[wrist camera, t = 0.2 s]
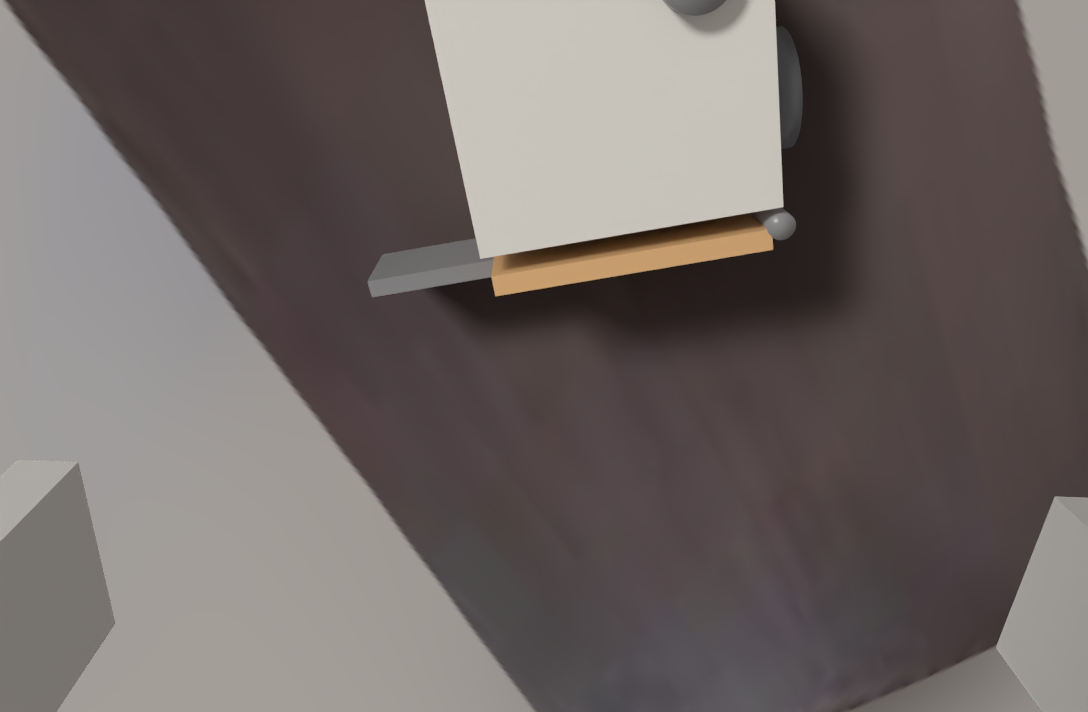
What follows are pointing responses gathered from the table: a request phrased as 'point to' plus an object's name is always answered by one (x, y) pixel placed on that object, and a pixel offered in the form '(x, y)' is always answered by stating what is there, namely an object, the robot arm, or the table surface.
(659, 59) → the housing
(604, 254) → the door
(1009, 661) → the robot arm
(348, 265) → the table surface
